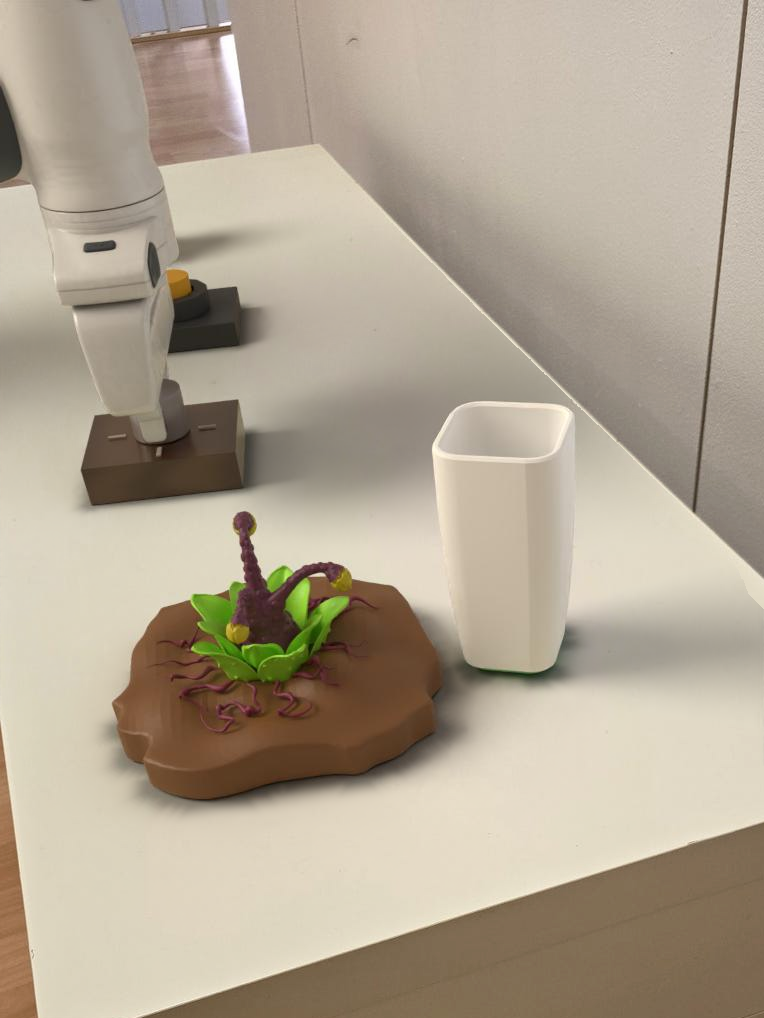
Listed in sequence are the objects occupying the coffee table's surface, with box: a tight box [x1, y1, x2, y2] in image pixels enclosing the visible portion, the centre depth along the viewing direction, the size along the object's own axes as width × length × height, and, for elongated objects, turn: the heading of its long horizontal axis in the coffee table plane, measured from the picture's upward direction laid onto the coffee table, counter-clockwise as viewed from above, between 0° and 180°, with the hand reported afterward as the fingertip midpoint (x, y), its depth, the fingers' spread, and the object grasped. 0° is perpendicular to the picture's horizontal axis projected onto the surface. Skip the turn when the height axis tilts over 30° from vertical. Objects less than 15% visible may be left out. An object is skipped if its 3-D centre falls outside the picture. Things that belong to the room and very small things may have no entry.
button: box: [166, 269, 192, 299], centre depth 119 cm, size 4×4×2 cm
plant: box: [111, 510, 443, 800], centre depth 73 cm, size 20×20×11 cm
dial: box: [129, 378, 189, 444], centre depth 97 cm, size 4×4×4 cm
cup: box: [431, 400, 576, 675], centre depth 73 cm, size 7×7×15 cm
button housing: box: [168, 278, 242, 353], centre depth 120 cm, size 12×10×4 cm
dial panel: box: [80, 398, 246, 506], centre depth 99 cm, size 12×10×3 cm
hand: (159, 422), depth 97 cm, fingers closed on dial, 4 cm apart
